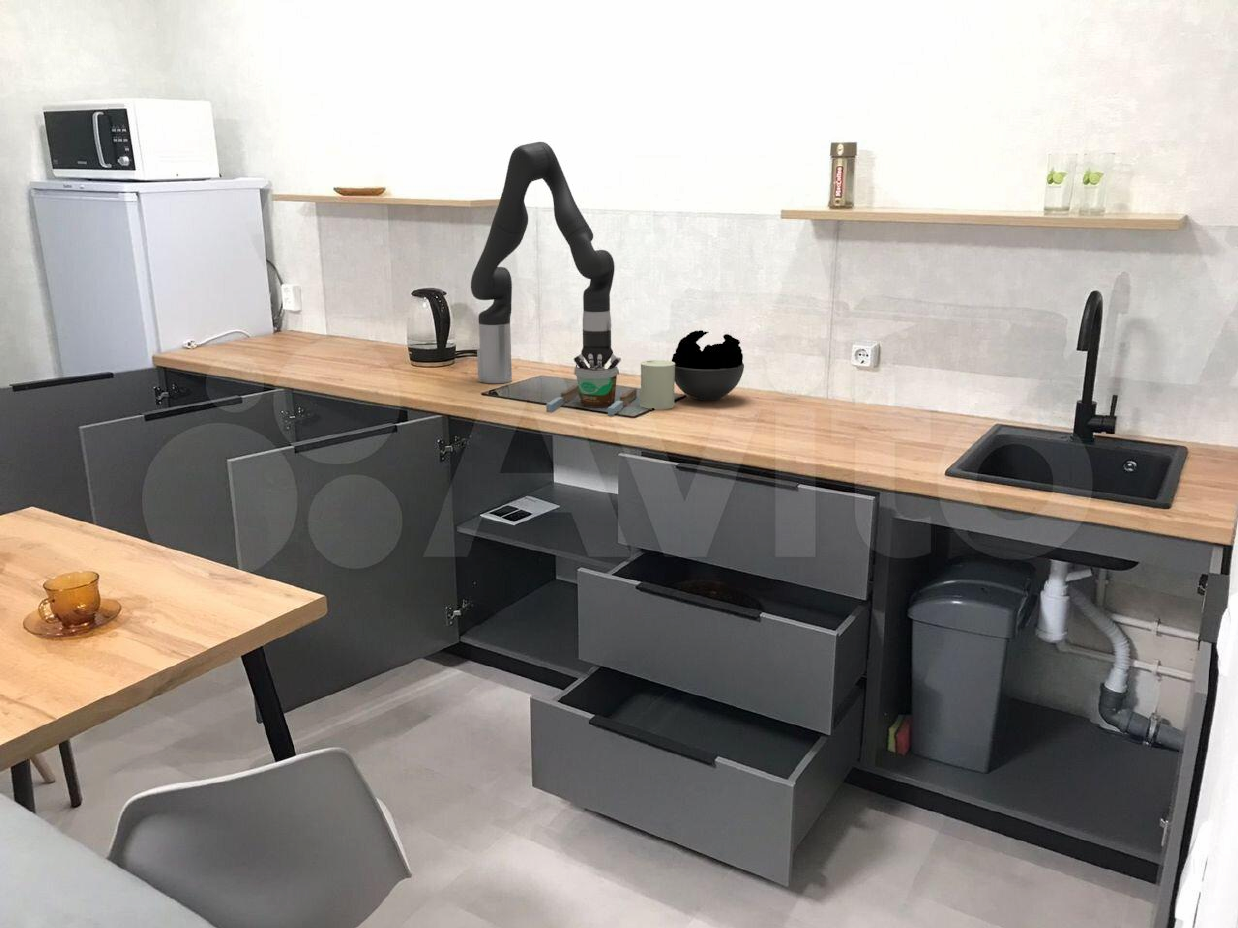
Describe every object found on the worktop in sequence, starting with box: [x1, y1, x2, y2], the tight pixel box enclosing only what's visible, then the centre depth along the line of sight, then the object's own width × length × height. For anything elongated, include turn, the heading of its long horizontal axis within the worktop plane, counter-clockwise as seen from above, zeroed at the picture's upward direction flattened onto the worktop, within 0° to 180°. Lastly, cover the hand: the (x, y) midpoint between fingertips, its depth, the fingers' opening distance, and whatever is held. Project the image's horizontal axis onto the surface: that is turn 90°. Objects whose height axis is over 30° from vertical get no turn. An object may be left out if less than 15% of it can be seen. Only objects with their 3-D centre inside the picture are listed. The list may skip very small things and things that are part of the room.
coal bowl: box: [671, 330, 745, 401], centre depth 267 cm, size 20×20×19 cm
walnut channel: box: [560, 384, 638, 407], centre depth 269 cm, size 18×12×2 cm, turn 75°
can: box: [639, 359, 676, 411], centre depth 260 cm, size 9×9×12 cm
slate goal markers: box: [545, 396, 624, 417], centre depth 257 cm, size 18×9×2 cm, turn 75°
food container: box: [573, 363, 620, 408], centre depth 261 cm, size 12×6×10 cm, turn 75°
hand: (597, 391), depth 266 cm, fingers closed
